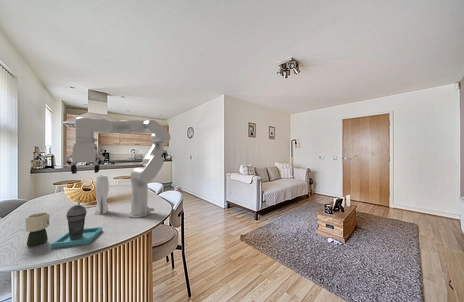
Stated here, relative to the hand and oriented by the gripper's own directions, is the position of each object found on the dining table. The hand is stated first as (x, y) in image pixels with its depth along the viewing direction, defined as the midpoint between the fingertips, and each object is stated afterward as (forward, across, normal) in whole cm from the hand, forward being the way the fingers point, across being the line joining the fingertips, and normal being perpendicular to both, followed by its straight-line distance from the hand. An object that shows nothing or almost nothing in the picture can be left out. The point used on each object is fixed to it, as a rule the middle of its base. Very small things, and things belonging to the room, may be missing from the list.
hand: (85, 173), depth 91 cm
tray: (+31, -1, +10) cm, 32 cm away
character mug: (+30, +15, +10) cm, 35 cm away
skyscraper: (+32, +3, -29) cm, 43 cm away
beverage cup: (+30, 0, +10) cm, 32 cm away
